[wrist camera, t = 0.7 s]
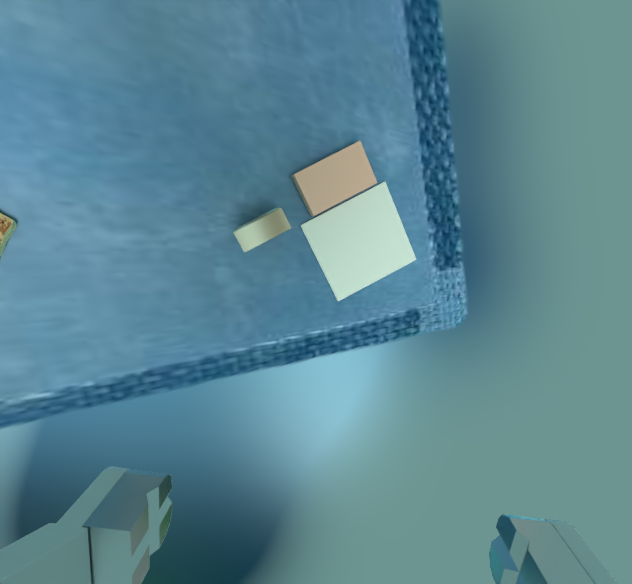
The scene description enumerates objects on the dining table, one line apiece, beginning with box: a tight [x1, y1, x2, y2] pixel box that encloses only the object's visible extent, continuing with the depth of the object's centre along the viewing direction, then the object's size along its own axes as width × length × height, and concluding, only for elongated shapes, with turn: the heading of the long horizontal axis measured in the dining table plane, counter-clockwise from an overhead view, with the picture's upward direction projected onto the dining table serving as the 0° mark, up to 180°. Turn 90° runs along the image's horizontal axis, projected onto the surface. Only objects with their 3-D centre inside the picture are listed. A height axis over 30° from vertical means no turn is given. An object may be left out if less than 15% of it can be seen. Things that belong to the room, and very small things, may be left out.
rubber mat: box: [300, 182, 416, 301], centre depth 51 cm, size 14×13×1 cm
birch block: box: [234, 208, 291, 252], centre depth 43 cm, size 6×2×11 cm, turn 116°
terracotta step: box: [292, 141, 377, 216], centre depth 47 cm, size 10×6×3 cm, turn 116°
